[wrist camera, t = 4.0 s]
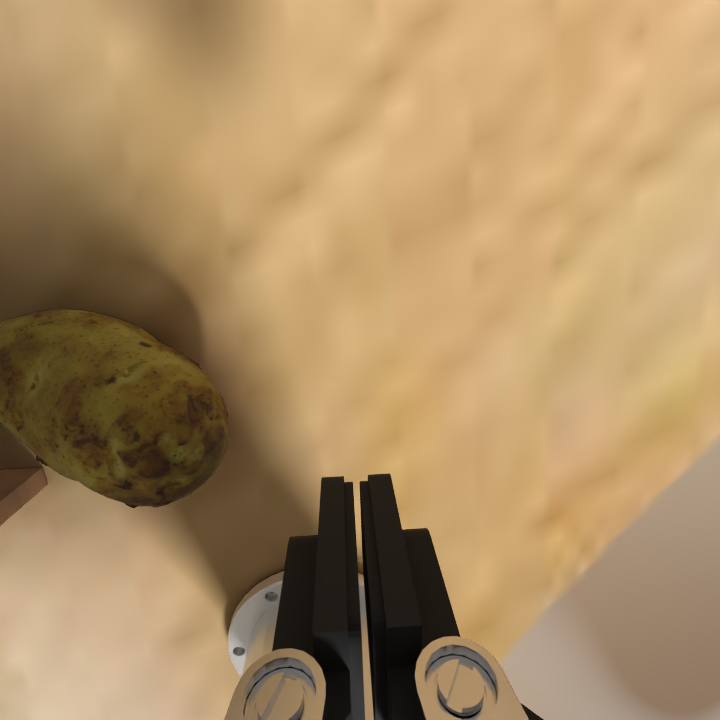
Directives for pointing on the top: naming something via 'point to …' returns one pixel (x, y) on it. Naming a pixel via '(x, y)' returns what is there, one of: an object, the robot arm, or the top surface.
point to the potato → (110, 405)
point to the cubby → (18, 489)
